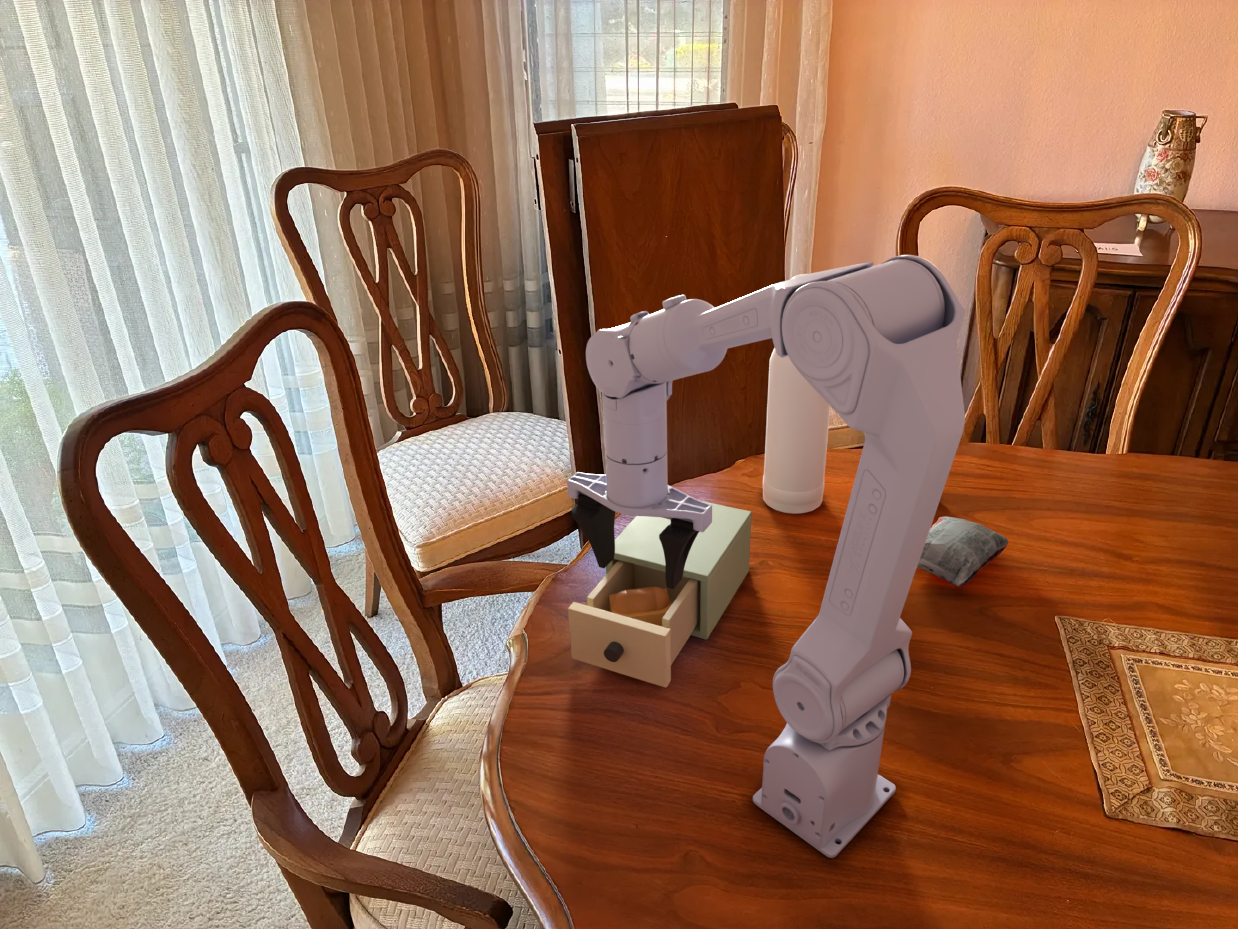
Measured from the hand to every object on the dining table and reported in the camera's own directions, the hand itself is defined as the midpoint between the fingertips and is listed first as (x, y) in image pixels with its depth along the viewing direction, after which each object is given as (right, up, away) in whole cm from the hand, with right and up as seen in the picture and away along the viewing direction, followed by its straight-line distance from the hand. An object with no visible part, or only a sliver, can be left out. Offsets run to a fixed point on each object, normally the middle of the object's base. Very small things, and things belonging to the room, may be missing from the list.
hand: (639, 572), depth 85 cm
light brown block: (0, -6, +3) cm, 7 cm away
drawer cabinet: (+5, -4, +13) cm, 14 cm away
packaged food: (+36, -1, +15) cm, 39 cm away
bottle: (+21, +6, +29) cm, 37 cm away
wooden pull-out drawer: (0, -7, +4) cm, 8 cm away
